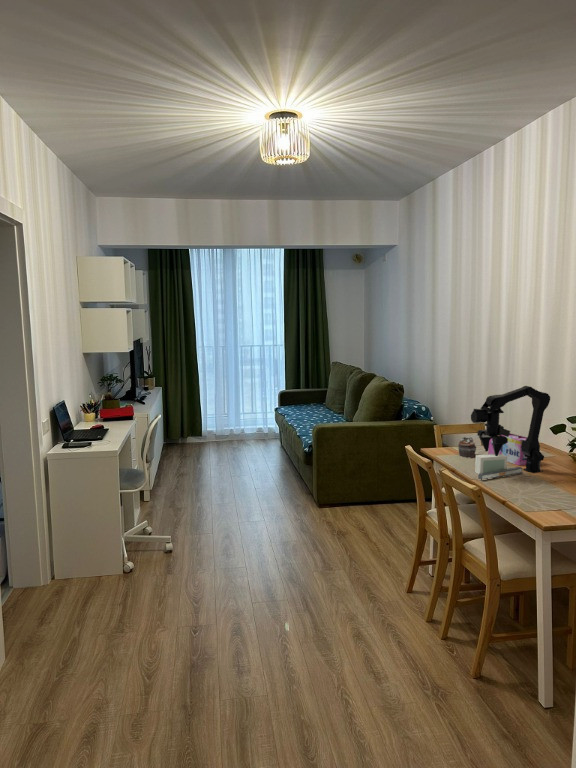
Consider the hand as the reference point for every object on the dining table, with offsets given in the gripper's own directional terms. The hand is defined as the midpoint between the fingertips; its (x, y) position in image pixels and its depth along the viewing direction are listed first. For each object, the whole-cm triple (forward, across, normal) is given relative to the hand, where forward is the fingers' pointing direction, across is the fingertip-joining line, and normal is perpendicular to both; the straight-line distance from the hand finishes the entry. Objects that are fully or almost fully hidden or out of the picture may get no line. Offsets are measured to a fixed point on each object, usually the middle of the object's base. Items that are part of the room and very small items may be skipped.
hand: (491, 453), depth 295 cm
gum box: (+10, +22, -23) cm, 33 cm away
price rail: (+10, -6, -2) cm, 12 cm away
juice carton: (+10, 0, 0) cm, 10 cm away
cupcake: (+10, +34, -5) cm, 36 cm away
